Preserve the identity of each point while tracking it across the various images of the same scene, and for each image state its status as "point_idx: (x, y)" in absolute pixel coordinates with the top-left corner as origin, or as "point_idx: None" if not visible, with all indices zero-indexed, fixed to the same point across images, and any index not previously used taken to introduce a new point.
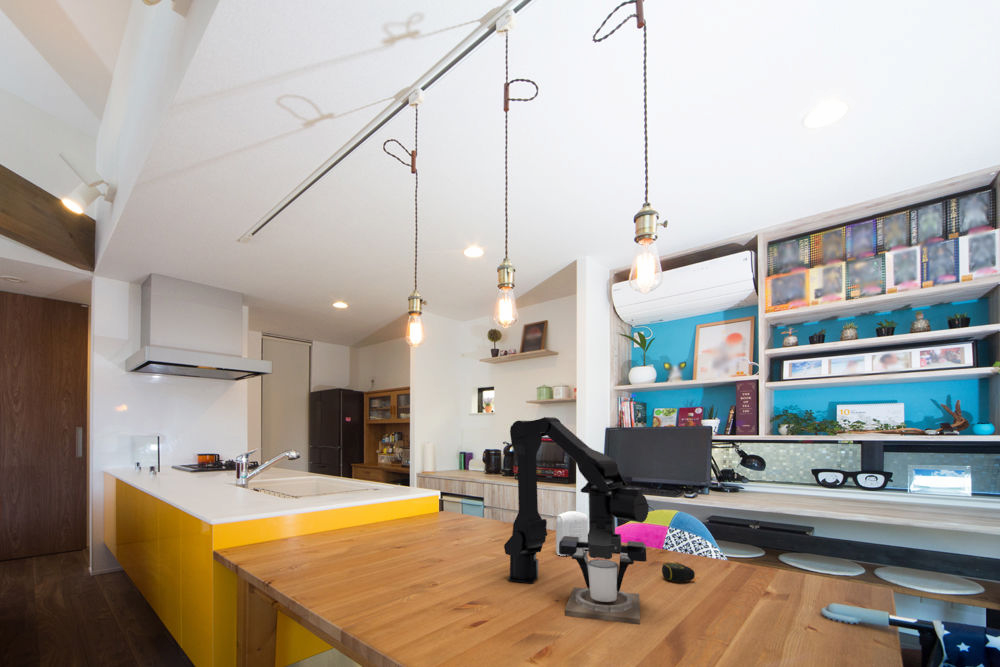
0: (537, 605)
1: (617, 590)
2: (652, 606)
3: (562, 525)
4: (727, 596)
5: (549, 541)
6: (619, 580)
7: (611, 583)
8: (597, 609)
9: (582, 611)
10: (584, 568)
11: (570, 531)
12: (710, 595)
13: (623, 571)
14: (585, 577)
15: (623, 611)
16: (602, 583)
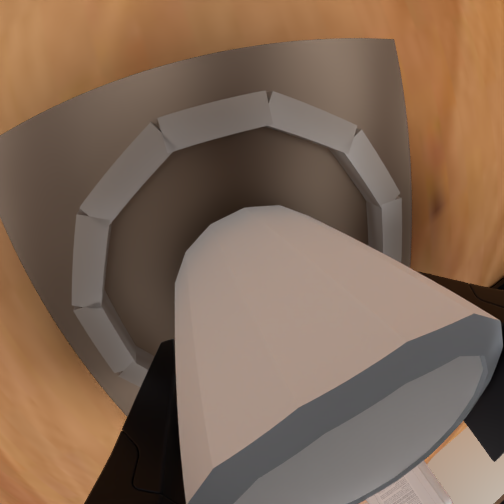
0: (473, 118)
1: (172, 341)
2: (62, 388)
3: (439, 498)
4: (8, 492)
5: None
6: (154, 397)
7: (201, 315)
8: (239, 95)
9: (316, 51)
10: (491, 306)
11: (416, 501)
12: (30, 491)
13: (112, 478)
14: (433, 279)
15: (85, 196)
16: (285, 252)
